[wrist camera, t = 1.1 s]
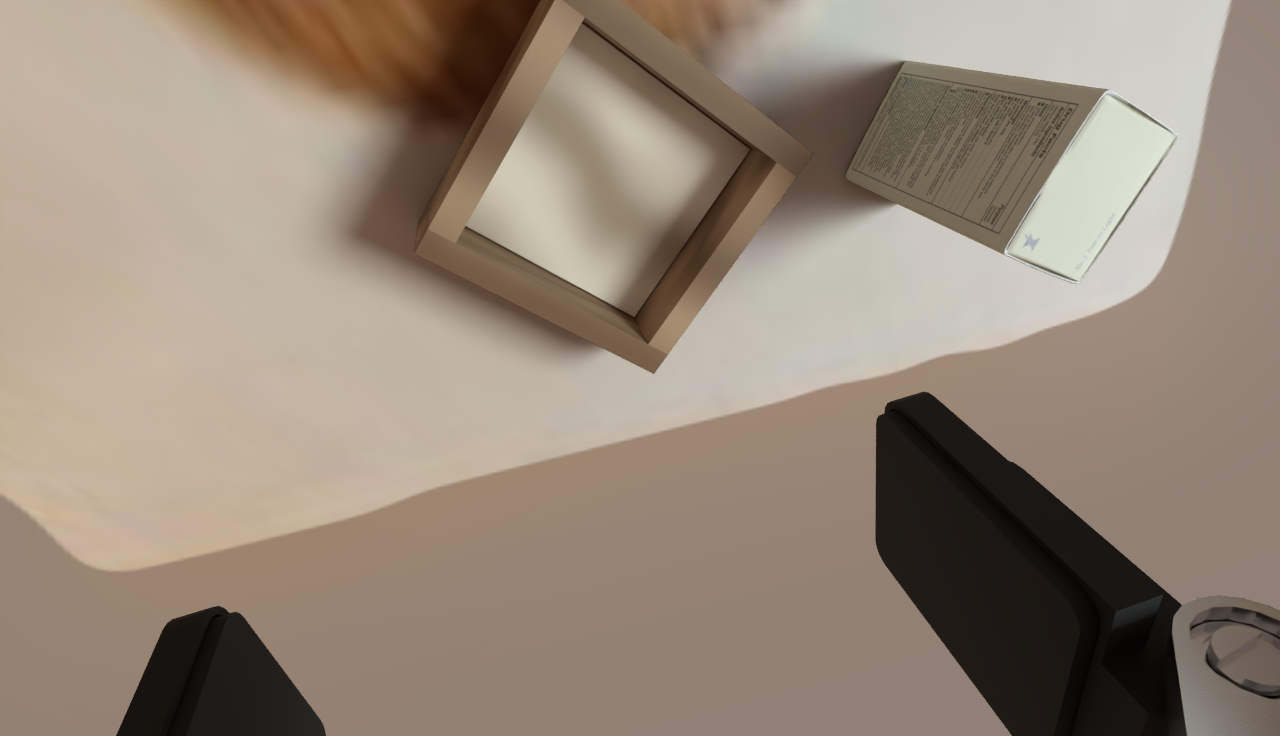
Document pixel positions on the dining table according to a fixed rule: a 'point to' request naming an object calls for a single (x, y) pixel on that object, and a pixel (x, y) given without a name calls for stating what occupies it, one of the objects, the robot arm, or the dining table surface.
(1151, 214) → the dining table surface
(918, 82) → the skincare box
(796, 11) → the dining table surface
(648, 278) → the brown wooden square tray
